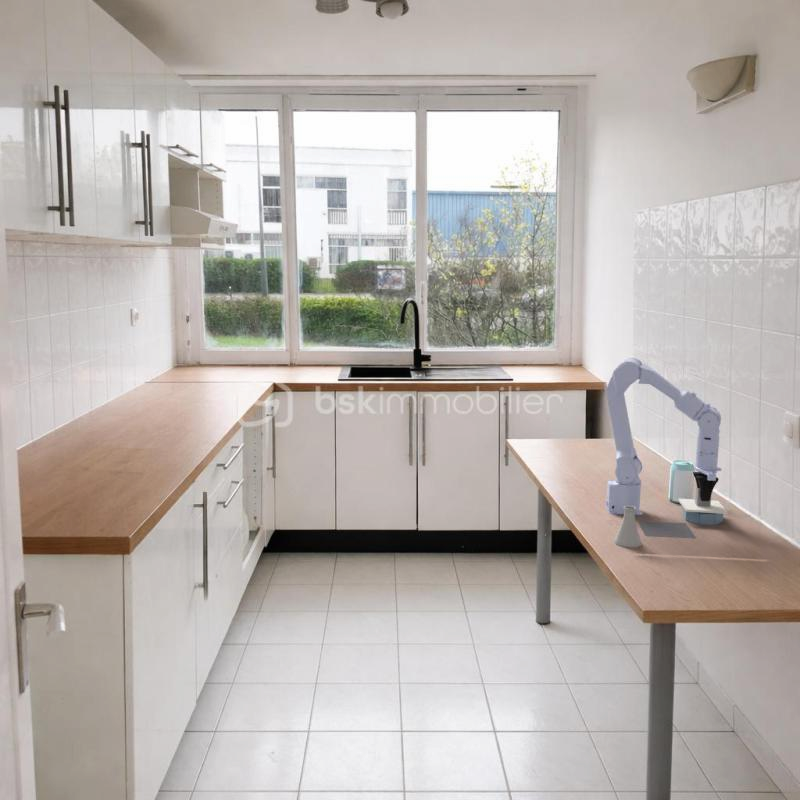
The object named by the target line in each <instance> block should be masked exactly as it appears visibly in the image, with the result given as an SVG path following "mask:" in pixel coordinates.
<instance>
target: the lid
mask: <svg viewBox="0 0 800 800" xmlns="http://www.w3.org/2000/svg"><path fill="white" fill-rule="evenodd" d="M678 501H679V502H680V503H679V504H680V505H681V507H682V509H683V508H684V509H685V510H686V512H702V513H719V514H723V515H728V513H729V512H728V510H727V509H726V508H725V507H724V506H723V505H722V504H721V502H720V501H719V500H712V496H711V497H710V500H709V501H701V498H700V488H697V487H696V488H695V498H693V499H679V498H678Z"/></svg>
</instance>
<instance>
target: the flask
mask: <svg viewBox="0 0 800 800" xmlns="http://www.w3.org/2000/svg"><path fill="white" fill-rule="evenodd" d="M623 508H624V514H623V518H622V521H621V524H620V526H619V529H618V531H617V533H616V535H615V537H614V539H613V543H614V544H615V545H616V546H619V547H623V548H639V547H640V546H643V542H642V540H641V537H640V534H639V530H638V526H637V523H636V516H635V515H636V514H635V510H636V507H634V506H624V507H623Z"/></svg>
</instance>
